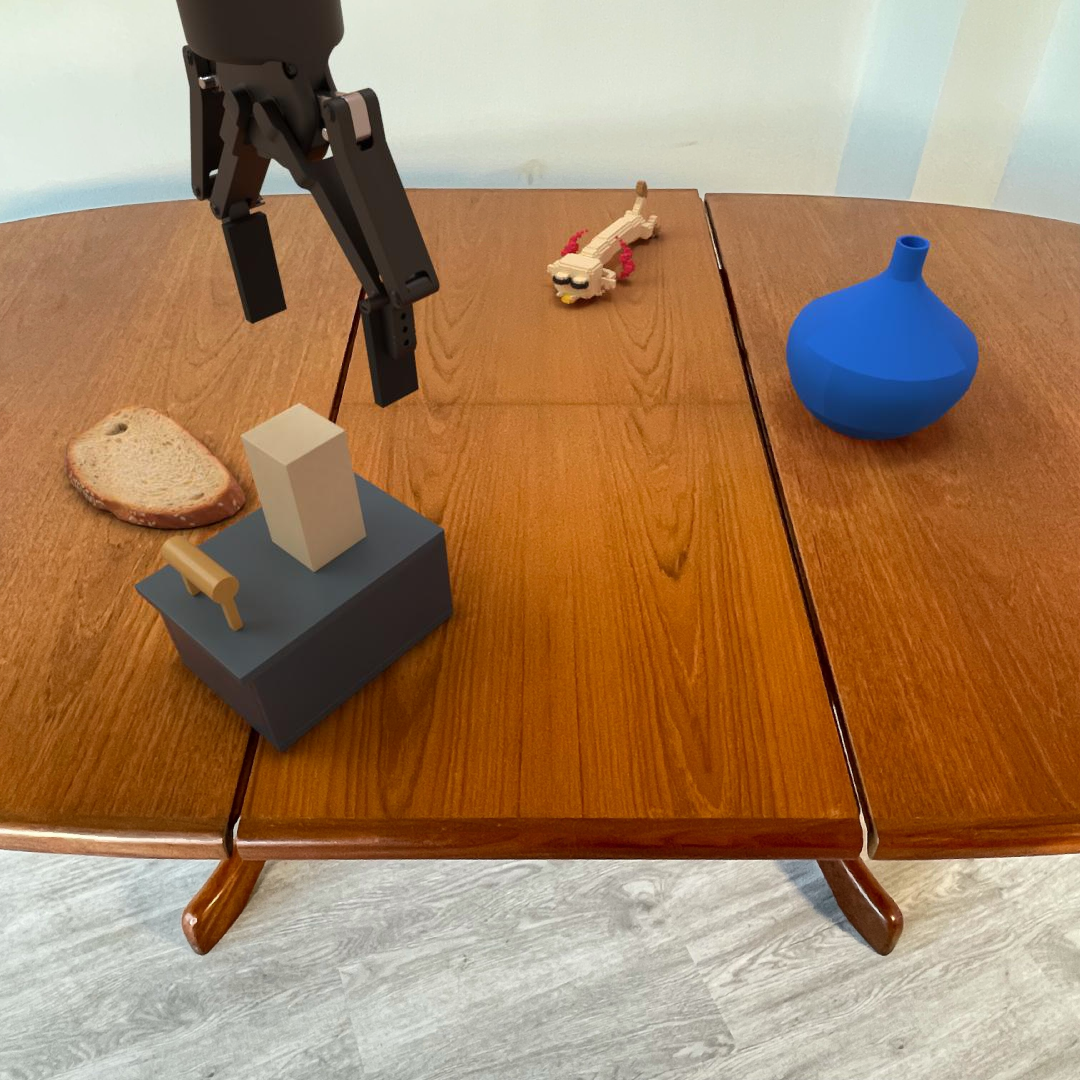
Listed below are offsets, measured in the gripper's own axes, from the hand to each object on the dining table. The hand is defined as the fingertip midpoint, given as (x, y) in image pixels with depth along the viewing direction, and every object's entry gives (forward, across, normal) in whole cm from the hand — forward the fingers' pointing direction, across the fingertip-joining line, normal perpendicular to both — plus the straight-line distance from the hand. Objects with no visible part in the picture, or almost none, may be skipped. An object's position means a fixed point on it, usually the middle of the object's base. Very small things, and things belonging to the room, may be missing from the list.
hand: (328, 353), depth 55 cm
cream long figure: (+26, +28, -60) cm, 71 cm away
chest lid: (+17, +2, +5) cm, 18 cm away
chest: (+26, +2, +4) cm, 26 cm away
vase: (+26, -14, -54) cm, 62 cm away
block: (+16, +2, +2) cm, 16 cm away
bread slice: (+26, +31, +3) cm, 41 cm away
